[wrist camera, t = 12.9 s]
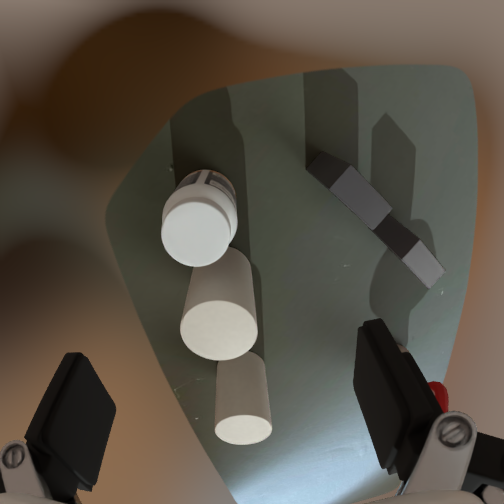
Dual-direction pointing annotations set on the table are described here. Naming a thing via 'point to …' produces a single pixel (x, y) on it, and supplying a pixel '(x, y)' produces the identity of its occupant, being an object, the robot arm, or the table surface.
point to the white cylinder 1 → (220, 308)
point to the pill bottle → (200, 218)
